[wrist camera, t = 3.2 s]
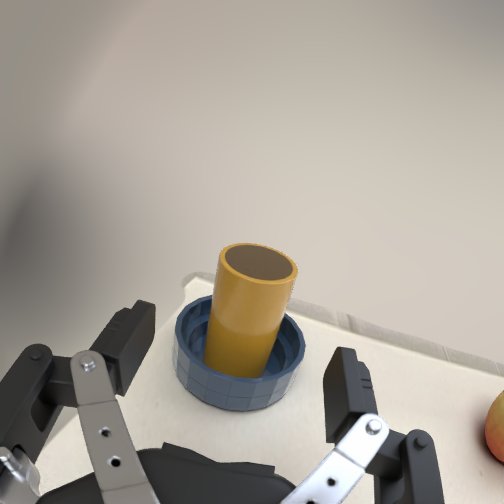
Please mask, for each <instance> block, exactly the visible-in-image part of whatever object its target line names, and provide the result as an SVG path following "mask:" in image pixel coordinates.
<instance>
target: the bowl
mask: <svg viewBox="0 0 504 504" xmlns="http://www.w3.org/2000/svg"><path fill="white" fill-rule="evenodd" d="M211 301H212V295H210V296H206V297H202V298H199V299H197V300H195V301H193V302H192V303H190V304H188V305H187V306H185V308H184V309H183V310H182V312H181V313H180V314H179V315H178V317H177V321H176V326H175V333H174V348H173V363H174V367H175V371H176V375H177V377H178V378H179V379H180V381H181V382H182V383H183V385H184V386H185V387H186V389H187V390H188V391H190V392H191V393H192V394H194V395H195V396H197V397H198V398H199V399H201V400H202V401H204V402H206V403H208V404H211V405H214V406H217V407H219V408H222V409H227V410H238V411H249V410H254V409H259V408H264V407H267V406H269V405H271V404H273V403H274V402H276V401H278V400H279V399H281V398H282V397H283V396H284V394H285V393H286V392H287V391H288V389H289V388H290V386H291V384H292V382H293V380H294V378H295V376H296V373H297V371H298V369H299V367H300V365H301V362H302V360H303V357H304V352H305V347H306V345H305V341H304V337H303V334H302V331H301V330H300V328H299V327H298V326H297V324H296V323H295V321H294V320H293V319H292V318H291V317H289V316H288V315H287V314H286V313H285V314H284V317H283V320H282V323H281V326H280V329H279V332H278V335H277V338H276V341H275V344H274V346H273V349H272V352H271V355H270V358H269V361H268V364H267V366H266V369H265V372H264V374H263V376H262V377H261V378H255V379H254V378H243V377H233V376H230V375H227V374H224V373H222V372H219V371H216V370H213V369H211V368H210V367H208V366H207V365H205V364H204V363H203V351H204V345H205V338H206V332H207V326H208V320H209V313H210V307H211Z"/></svg>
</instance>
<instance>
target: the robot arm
mask: <svg viewBox="0 0 504 504" xmlns="http://www.w3.org/2000/svg"><path fill="white" fill-rule="evenodd" d="M155 310H156V307H155V304H152V303H149V302H145V301H142V300H138V301H137V302H136V303H135V305H134V306H133V308H132V309H129V308H123V309H122V310H120V311H118V312H116V313H115V315H114V316H113V317H112V319H111V320H110V322H109V323H108V324H107V325H106V328H104V329H103V331H102V332H101V334H100V335H99V336H98V338H97V339H96V340H95V342H94V343H93V345H92V346H91V347H90V349H89V350H85V351H81V352H78V353H77V354H75V355H74V356H73V357H61V356H53V354H52V351H51V350H50V348H49V347H47V346H46V345H43V344H33V345H30V346H28V347H27V348H25V349H24V351H23V352H22V353H21V355H20V356H19V357H18V359H17V360H16V361H15V362H14V364H13V365H12V367H11V368H10V369H9V371H8V372H7V373H6V375H5V376H4V378H3V379H2V381H1V382H0V504H341V503H342V502H343V501H344V499H345V498H346V497H347V496H348V494H349V493H350V492H351V491H352V489H353V488H354V487H355V485H356V484H357V483H358V482H359V480H360V479H361V478H362V476H363V475H364V473H368V474H371V475H374V498H375V504H445V503H444V496H443V489H442V483H441V477H440V471H439V466H438V461H437V456H436V451H435V446H434V442H433V439H432V437H431V436H430V435H429V434H428V433H427V432H425V431H423V430H419V429H416V430H412V431H410V432H409V433H408V434H407V435H405V434H402V433H399V432H396V431H393V430H391V429H389V426H388V424H387V422H386V421H385V420H384V419H383V418H382V417H381V416H379V415H378V411H377V406H376V401H375V396H374V391H373V389H372V388H373V386H372V382H371V377H370V373H369V370H368V368H367V367H366V365H365V364H364V363H363V362H360V361H358V360H357V355H356V351H355V349H351V348H345V347H337V348H336V350H335V352H334V354H333V356H332V358H331V360H330V362H329V364H328V366H327V368H326V370H325V373H324V377H323V392H324V408H325V427H326V443H335V448H334V449H333V450H332V451H331V452H330V453H329V454H328V455H327V456H326V458H325V459H324V460H323V461H322V462H321V463H320V464H319V465H318V466H317V467H316V468H315V469H314V470H313V471H312V472H311V473H310V474H309V476H308V477H307V478H306V479H305V480H304V481H303V482H302V483H301V484H300V485H299V486H297V487H296V486H295V485H294V484H292V483H291V482H290V481H288V480H287V479H285V478H284V477H282V476H280V475H278V474H275V473H274V470H275V466H270V465H263V464H256V463H250V462H231V463H220V462H216V461H213V460H211V459H209V458H207V457H205V456H203V455H201V454H199V453H197V452H195V451H193V450H190V449H187V448H183V447H179V446H176V445H172V444H169V443H165V442H164V443H163V446H162V449H161V448H150V449H143V450H139V451H136V450H135V448H134V445H133V443H132V440H131V438H130V435H129V432H128V429H127V427H126V424H125V421H124V418H123V415H122V413H121V410H120V407H119V404H118V401H117V399H116V398H115V395H116V394H118V395H120V396H123V397H124V396H125V394H126V392H127V390H128V388H129V386H130V384H131V382H132V380H133V378H134V376H135V374H136V372H137V370H138V369H139V367H140V365H141V363H142V361H143V359H144V357H145V355H146V353H147V352H148V350H149V348H150V346H151V344H152V342H153V339H154V334H155ZM64 406H67V407H75V408H77V409H78V414H79V418H80V423H81V427H82V431H83V435H84V438H85V442H86V446H87V449H88V453H89V456H90V460H91V463H92V466H93V469H94V472H92V473H90V474H88V475H86V476H84V477H81V478H79V479H77V480H75V481H72V482H70V483H68V484H66V485H63V486H61V487H59V488H56V489H54V490H51V491H49V492H47V493H45V494H44V495H42V496H40V493H39V483H40V474H39V471H38V469H37V468H36V467H35V462H36V460H37V458H38V456H39V454H40V452H41V450H42V448H43V446H44V444H45V441H46V439H47V438H48V435H49V433H50V431H51V430H52V427H53V426H54V424H55V422H56V420H57V418H58V416H59V414H60V412H61V410H62V409H63V407H64Z"/></svg>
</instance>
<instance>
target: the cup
mask: <svg viewBox="0 0 504 504" xmlns="http://www.w3.org/2000/svg"><path fill="white" fill-rule="evenodd" d="M297 274H298V269H297V266H296V264H295V263H294V262H293V261H292V260H291V259H290V258H289V257H288V256H286V255H285V254H283V253H282V252H279V251H278V250H275V249H273V248H270V247H267V246H263V245H258V244H251V243H238V244H233V245H230V246H227V247H225V248H224V249H223V250H222V251H221V252H220V255H219V260H218V266H217V272H216V278H215V283H214V289H213V295H212V301H211V307H210V313H209V320H208V326H207V332H206V338H205V345H204V351H203V363H204V364H205V365H207V366H208V367H210V368H211V369H213V370H216V371H219V372H222V373H224V374H227V375H230V376H233V377H243V378H254V379H255V378H261V377H262V376H263V374H264V372H265V369H266V366H267V364H268V361H269V358H270V355H271V352H272V349H273V346H274V344H275V341H276V338H277V335H278V332H279V329H280V326H281V323H282V320H283V317H284V314H285V311H286V308H287V305H288V302H289V299H290V296H291V293H292V290H293V286H294V283H295V280H296V277H297Z"/></svg>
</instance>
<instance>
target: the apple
mask: <svg viewBox="0 0 504 504" xmlns="http://www.w3.org/2000/svg"><path fill="white" fill-rule="evenodd" d="M485 437H486V441H487V445H488V447H489V449H490V451H491V452H492V454H493V455H494V456H495V457H496V458H497V459H498V460H500V461H502V462H504V390H503V392H502V393H501V394H500V395H499V396H498V397H497V398H496V399H495V401H494V402H493V404H492V406H491V407H490V409H489V411H488V415H487V418H486V423H485Z"/></svg>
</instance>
